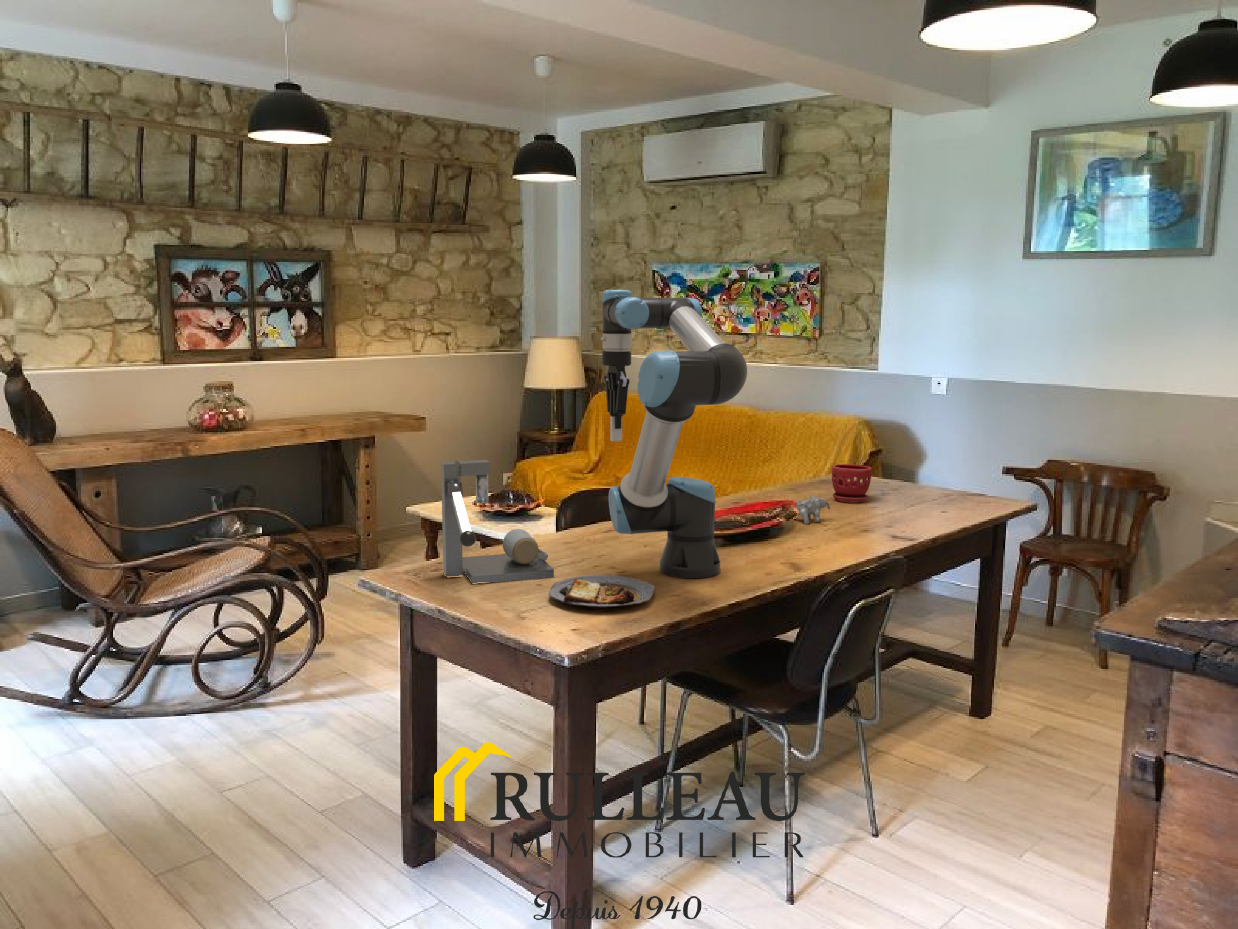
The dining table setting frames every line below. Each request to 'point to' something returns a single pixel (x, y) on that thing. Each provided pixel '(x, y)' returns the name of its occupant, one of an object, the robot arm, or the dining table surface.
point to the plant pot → (851, 482)
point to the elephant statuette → (811, 508)
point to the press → (453, 562)
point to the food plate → (589, 590)
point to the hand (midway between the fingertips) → (616, 440)
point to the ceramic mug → (522, 547)
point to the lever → (460, 513)
